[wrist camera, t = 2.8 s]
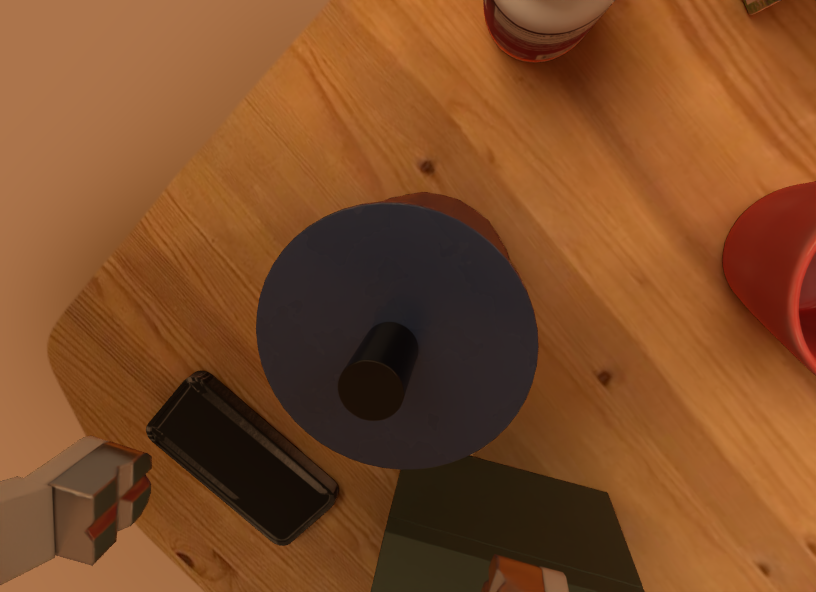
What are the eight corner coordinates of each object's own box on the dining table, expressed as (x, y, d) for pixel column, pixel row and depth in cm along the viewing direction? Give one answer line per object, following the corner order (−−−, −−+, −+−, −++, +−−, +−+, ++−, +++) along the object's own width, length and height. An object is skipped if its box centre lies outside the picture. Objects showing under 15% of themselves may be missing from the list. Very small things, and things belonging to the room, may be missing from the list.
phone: (191, 371, 35) (340, 499, 36) (200, 364, 36) (344, 489, 37) (140, 433, 38) (281, 551, 39) (149, 425, 39) (286, 540, 40)
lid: (254, 419, 24) (196, 486, 19) (282, 171, 20) (218, 176, 15) (494, 484, 23) (498, 572, 18) (572, 236, 19) (604, 264, 14)
